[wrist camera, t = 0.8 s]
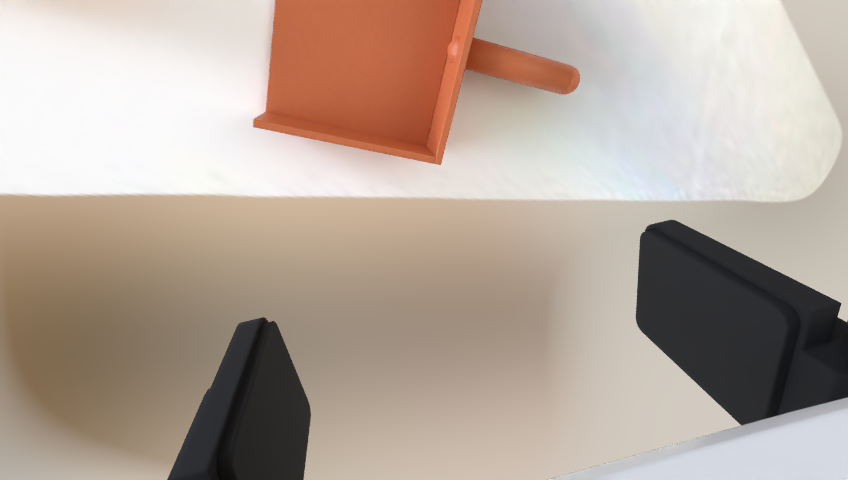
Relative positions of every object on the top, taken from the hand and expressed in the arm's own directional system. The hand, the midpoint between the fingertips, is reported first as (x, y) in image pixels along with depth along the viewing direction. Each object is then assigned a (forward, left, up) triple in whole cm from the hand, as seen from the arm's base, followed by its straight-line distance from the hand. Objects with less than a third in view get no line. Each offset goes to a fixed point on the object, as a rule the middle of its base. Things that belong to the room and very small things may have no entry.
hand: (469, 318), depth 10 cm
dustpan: (-7, +2, -24) cm, 25 cm away
